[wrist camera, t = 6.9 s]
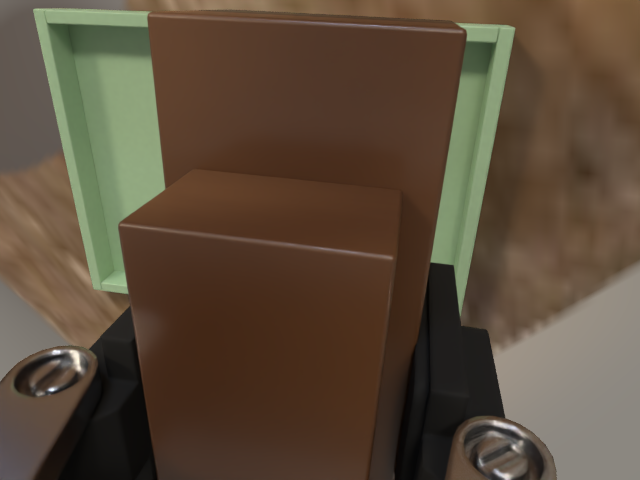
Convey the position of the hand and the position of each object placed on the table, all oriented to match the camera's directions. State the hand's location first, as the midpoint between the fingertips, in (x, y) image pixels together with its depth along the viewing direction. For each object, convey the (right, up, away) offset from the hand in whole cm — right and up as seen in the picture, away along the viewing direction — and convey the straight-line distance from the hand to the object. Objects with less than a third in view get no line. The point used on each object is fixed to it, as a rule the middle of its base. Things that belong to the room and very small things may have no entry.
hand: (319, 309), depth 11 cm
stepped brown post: (0, 0, 0) cm, 0 cm away
